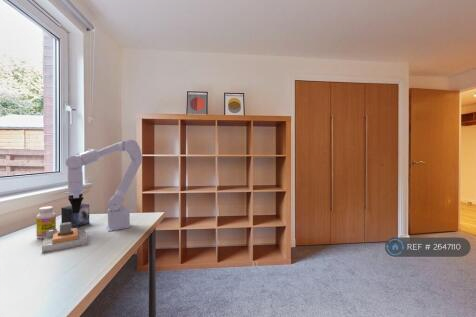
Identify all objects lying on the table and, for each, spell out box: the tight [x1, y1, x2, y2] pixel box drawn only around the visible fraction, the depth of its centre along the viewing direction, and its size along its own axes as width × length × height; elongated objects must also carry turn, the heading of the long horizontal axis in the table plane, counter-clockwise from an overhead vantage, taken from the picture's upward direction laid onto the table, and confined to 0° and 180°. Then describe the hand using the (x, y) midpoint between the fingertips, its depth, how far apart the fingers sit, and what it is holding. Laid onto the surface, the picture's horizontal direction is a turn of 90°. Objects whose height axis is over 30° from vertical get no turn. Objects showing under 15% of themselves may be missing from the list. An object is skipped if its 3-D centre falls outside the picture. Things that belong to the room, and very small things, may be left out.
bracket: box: [52, 227, 78, 244], centre depth 99 cm, size 8×18×2 cm, turn 36°
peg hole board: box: [41, 228, 88, 254], centre depth 96 cm, size 14×14×5 cm
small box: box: [60, 203, 90, 229], centre depth 119 cm, size 11×6×10 cm, turn 162°
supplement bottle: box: [35, 205, 57, 240], centre depth 104 cm, size 7×7×13 cm
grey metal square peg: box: [59, 222, 71, 236], centre depth 96 cm, size 4×4×8 cm
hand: (76, 211), depth 109 cm, fingers open, 7 cm apart
